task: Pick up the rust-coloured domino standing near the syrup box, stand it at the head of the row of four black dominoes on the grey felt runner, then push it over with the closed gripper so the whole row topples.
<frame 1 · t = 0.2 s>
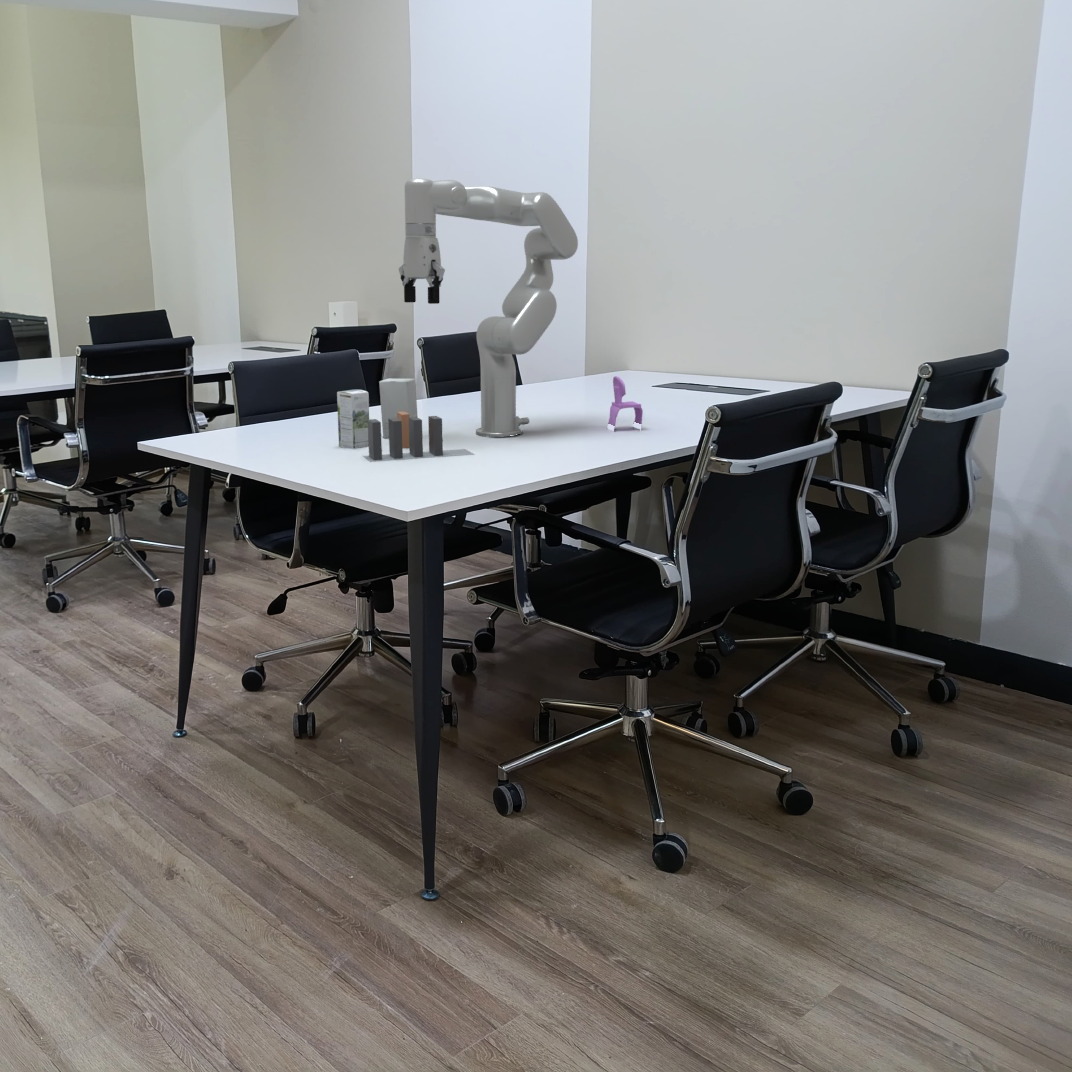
hand: (421, 302, 263), 36 cm above the table, tool pointing down, fingers open, 9 cm apart
domino 4: (375, 458, 251), resting on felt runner
toy chair: (624, 430, 296), on the table
syrup box: (354, 448, 268), on the table
domino 1: (436, 454, 257), resting on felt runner
domino 2: (416, 455, 255), resting on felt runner
skincare box: (400, 437, 283), on the table
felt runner: (419, 456, 255), on the table
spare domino: (404, 448, 267), on the table
domino 3: (396, 456, 253), resting on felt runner
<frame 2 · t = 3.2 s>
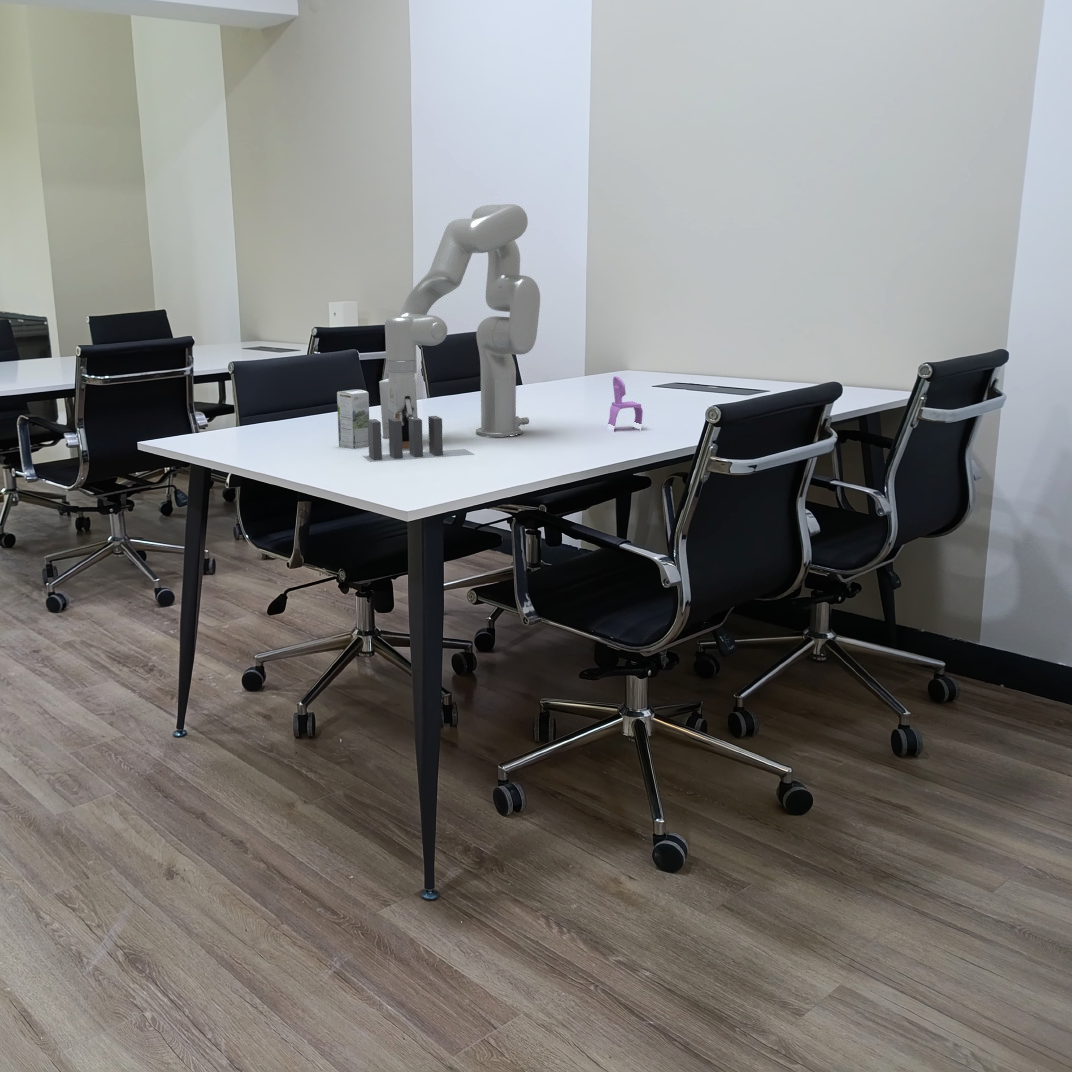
hand: (403, 438, 266), 2 cm above the table, tool pointing down, fingers closed on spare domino, 4 cm apart
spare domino: (404, 448, 267), on the table, touching gripper
everything else where it was.
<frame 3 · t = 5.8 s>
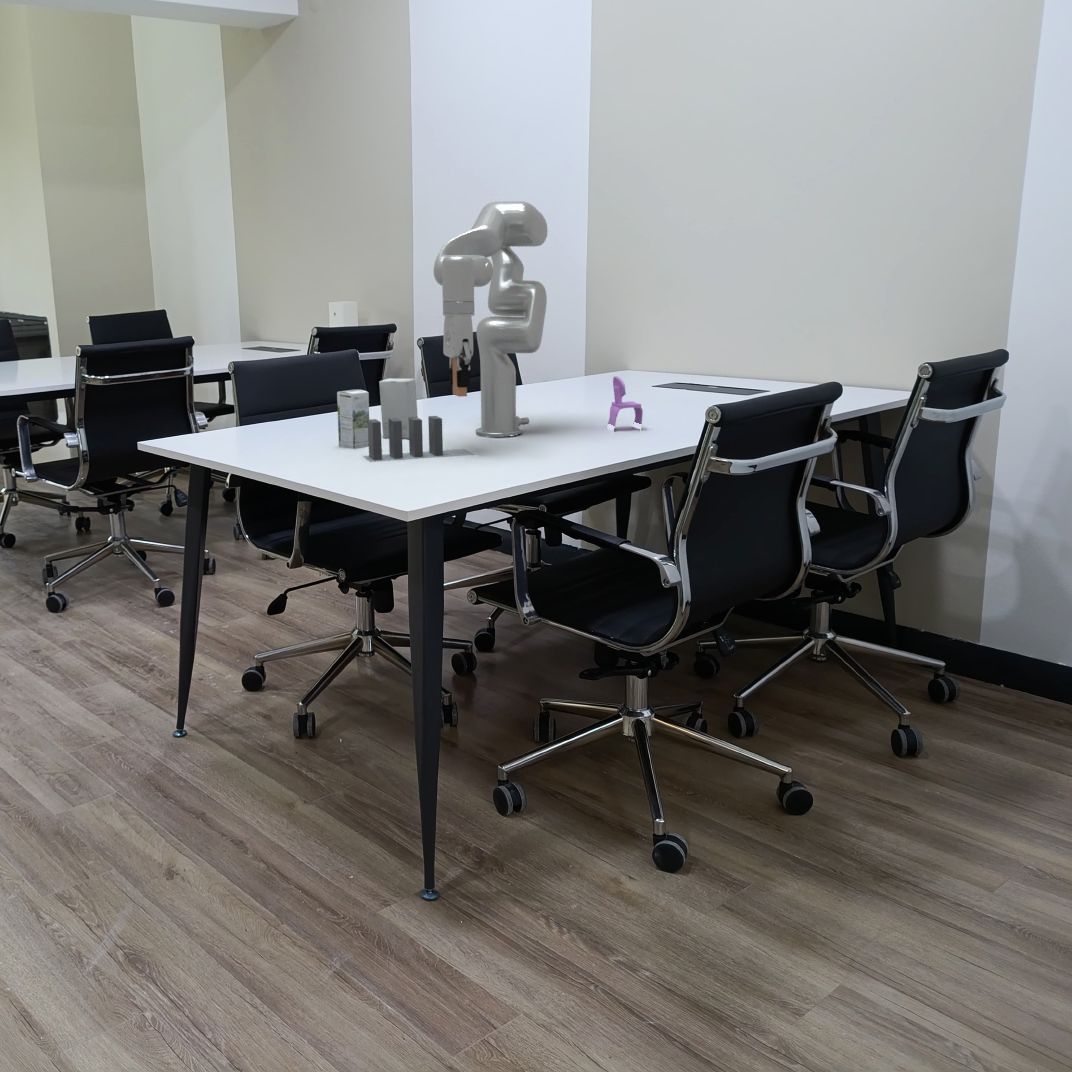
hand: (459, 385, 255), 17 cm above the table, tool pointing down, fingers closed on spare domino, 4 cm apart
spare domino: (459, 395, 255), point 14 cm above the table, touching gripper
everything else where it was.
when the fingers open (4 cm above the table, at t = 8.5 s): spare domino drops 1 cm, resting on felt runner.
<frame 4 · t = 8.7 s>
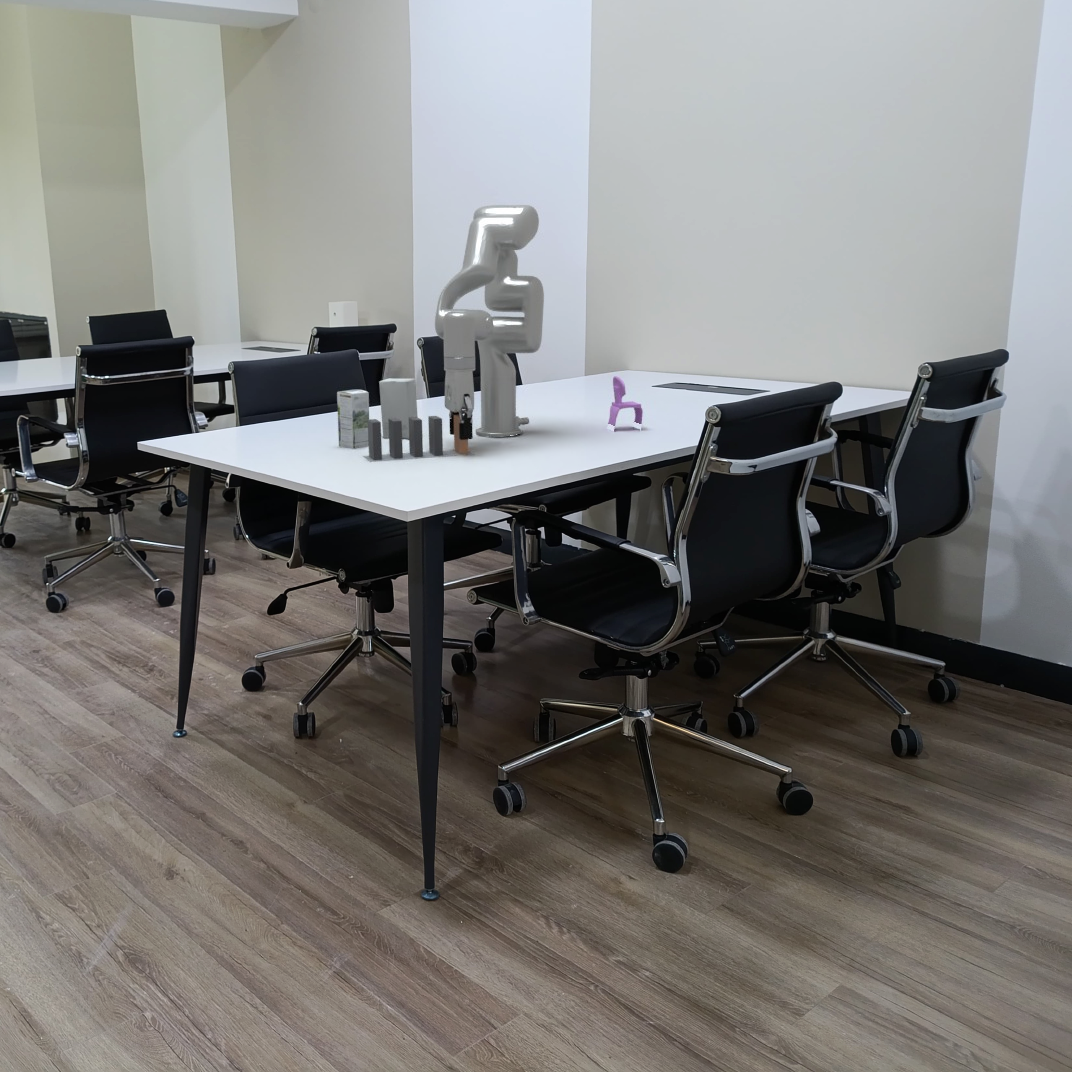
hand: (461, 436, 258), 4 cm above the table, tool pointing down, fingers open, 7 cm apart
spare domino: (461, 452, 259), resting on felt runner
everything else where it was.
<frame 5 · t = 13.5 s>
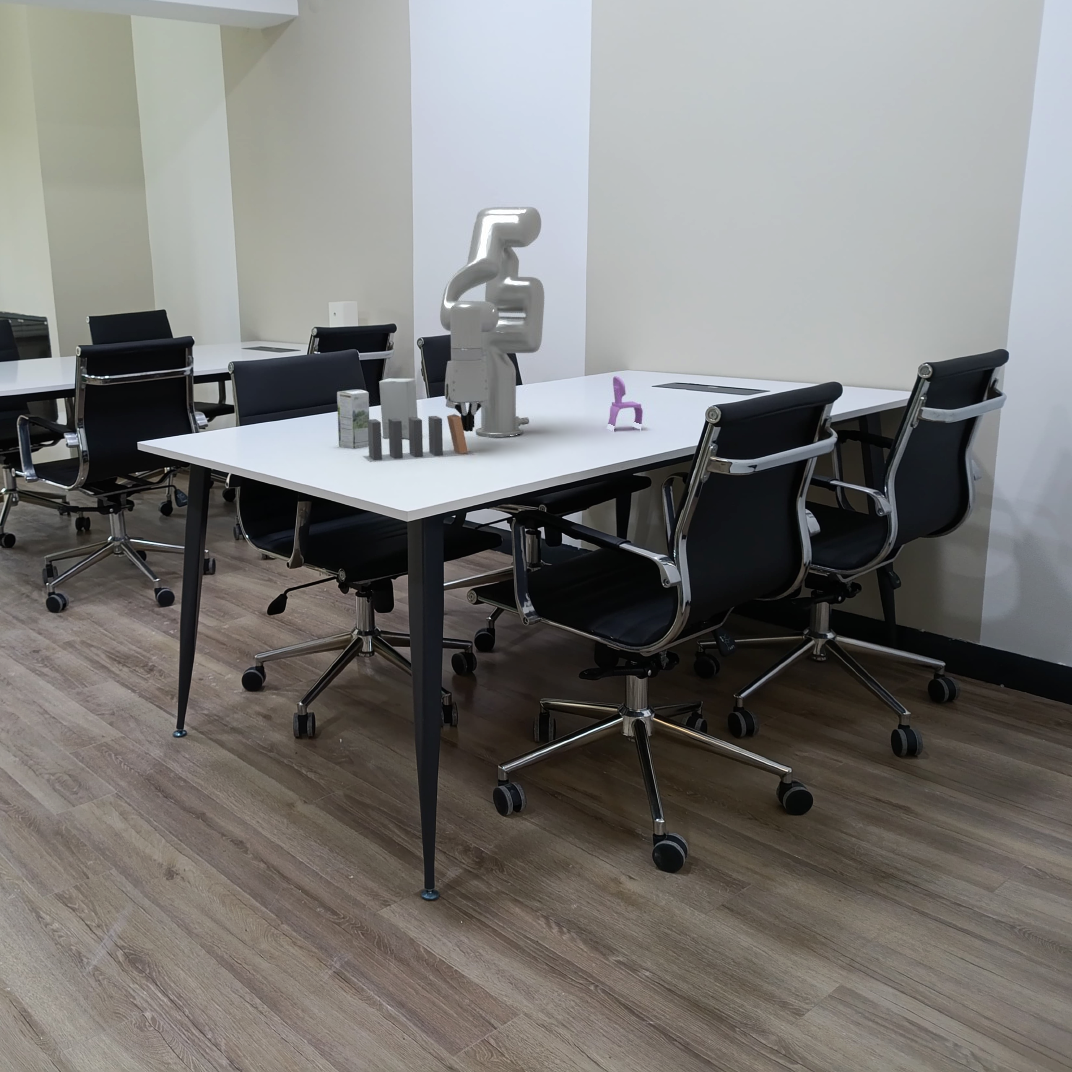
hand: (467, 430, 258), 6 cm above the table, tool pointing down, fingers closed
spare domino: (461, 451, 259), point 1 cm above the table, tilted 11°, touching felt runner, gripper
everything else where it was.
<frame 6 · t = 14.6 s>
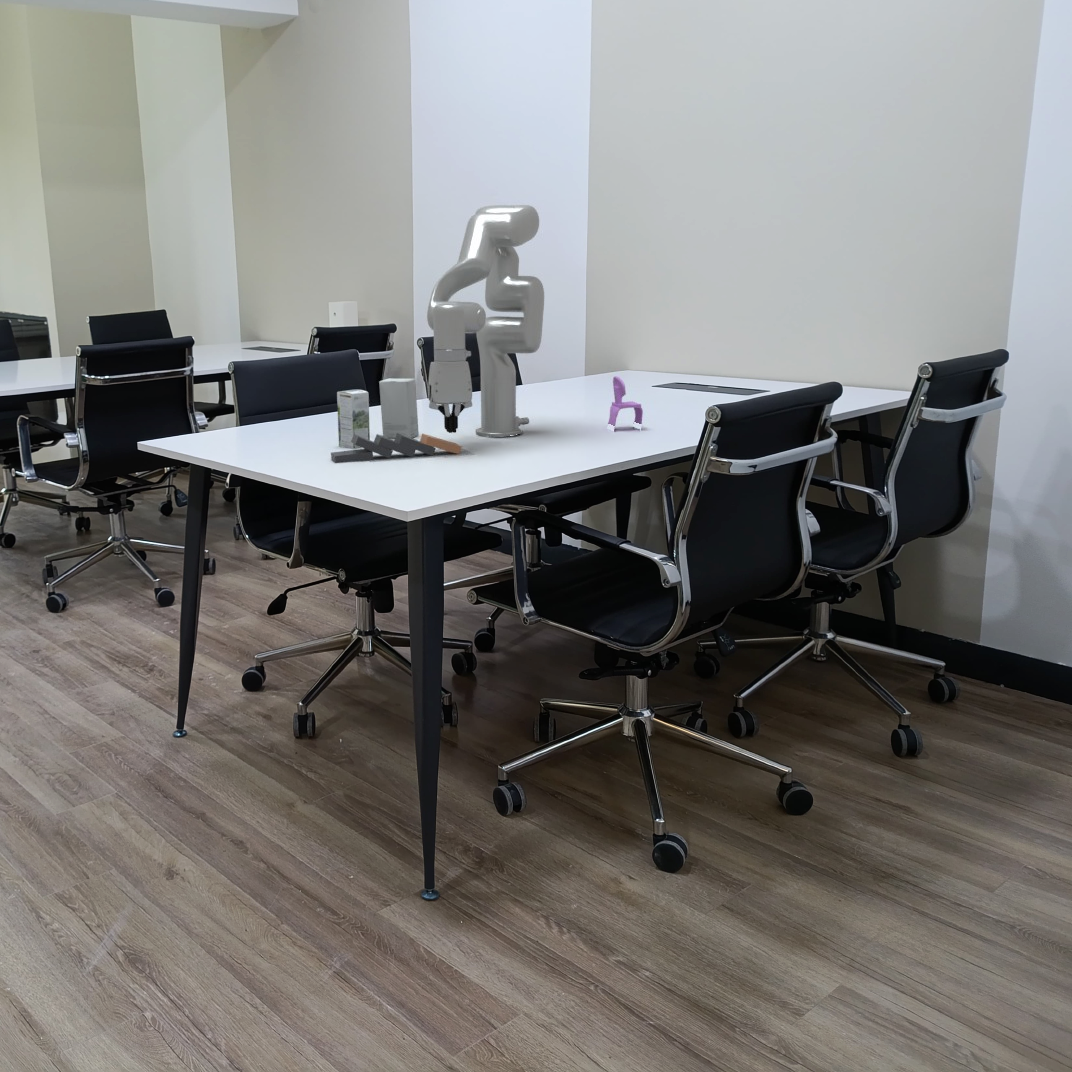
hand: (451, 431, 257), 6 cm above the table, tool pointing down, fingers closed
domino 4: (370, 454, 251), point 1 cm above the table, tilted 93°, touching domino 3, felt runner
domino 1: (431, 450, 256), point 1 cm above the table, tilted 67°, touching domino 2, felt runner, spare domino
domino 2: (411, 451, 254), point 1 cm above the table, tilted 67°, touching domino 1, domino 3, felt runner
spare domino: (457, 448, 258), point 1 cm above the table, tilted 71°, touching domino 1, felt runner
domino 3: (389, 452, 252), point 1 cm above the table, tilted 65°, touching domino 2, domino 4
everything else where it was.
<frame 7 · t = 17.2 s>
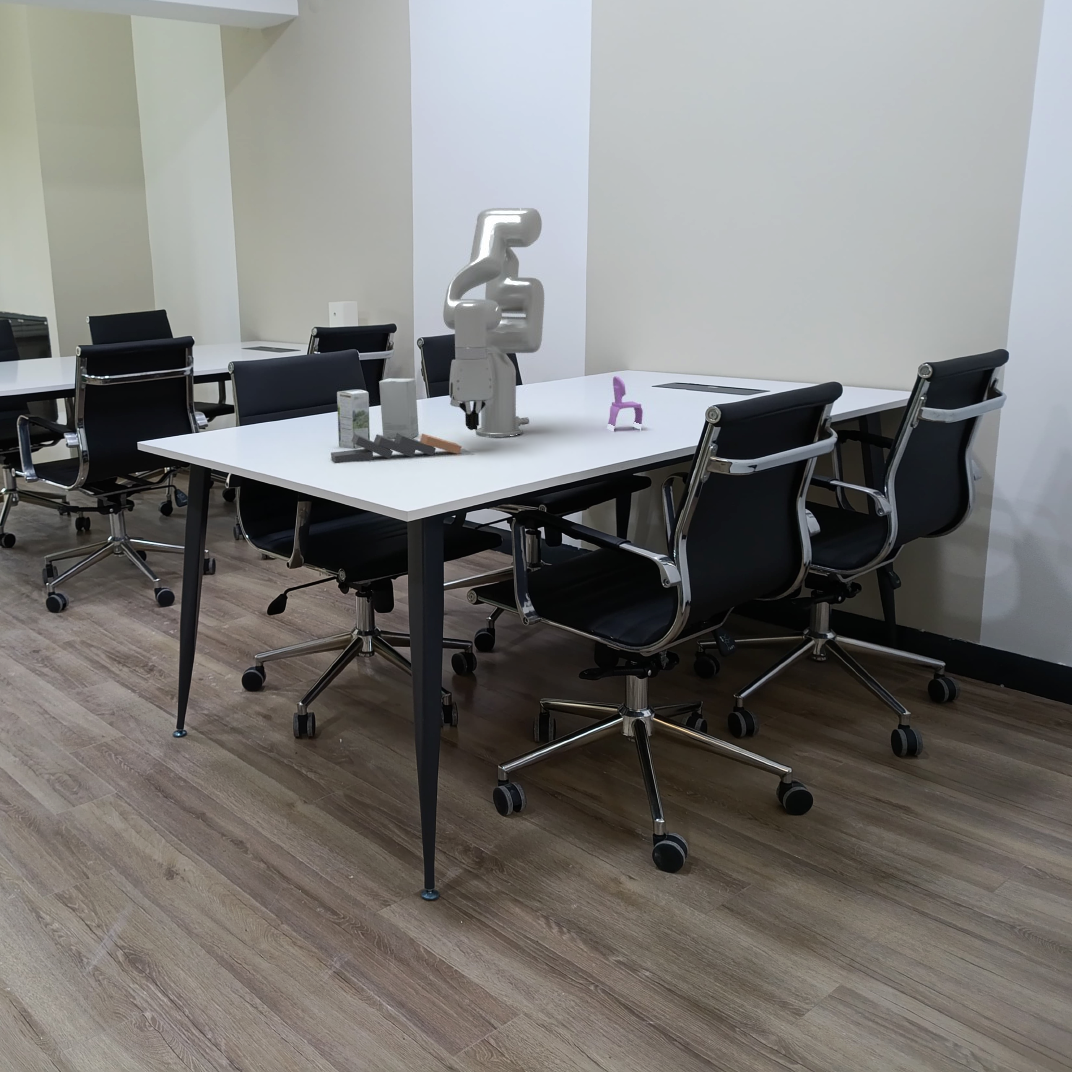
hand: (472, 428, 259), 6 cm above the table, tool pointing down, fingers closed
domino 3: (388, 453, 252), point 1 cm above the table, tilted 63°, touching domino 2, domino 4, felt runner
everything else where it was.
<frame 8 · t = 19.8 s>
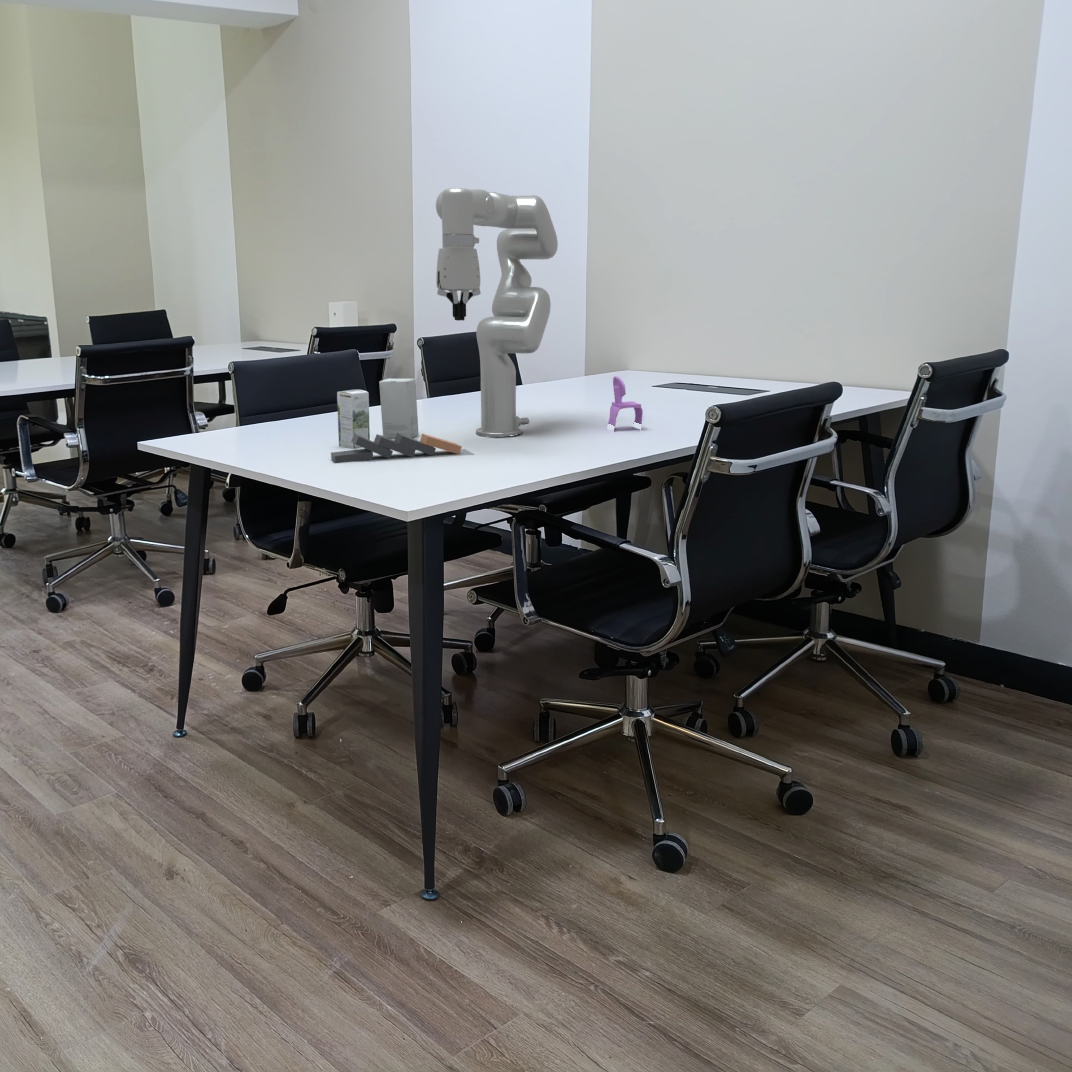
hand: (459, 320, 257), 32 cm above the table, tool pointing down, fingers closed
nothing on the table moved.
at the end: domino 4 tilted 93°; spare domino tilted 71°; the gripper is holding nothing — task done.
